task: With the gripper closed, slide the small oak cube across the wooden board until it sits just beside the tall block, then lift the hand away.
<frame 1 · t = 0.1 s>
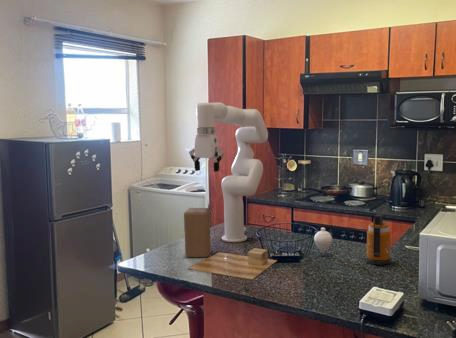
hand: (206, 170, 195), 37 cm above the counter, tool pointing down, fingers open, 9 cm apart
wooden board: (233, 264, 182), on the counter
block: (198, 254, 198), on the counter
oak cube: (258, 262, 184), resting on wooden board
amber tall bottle: (377, 263, 181), on the counter
spinning top: (323, 255, 193), on the counter
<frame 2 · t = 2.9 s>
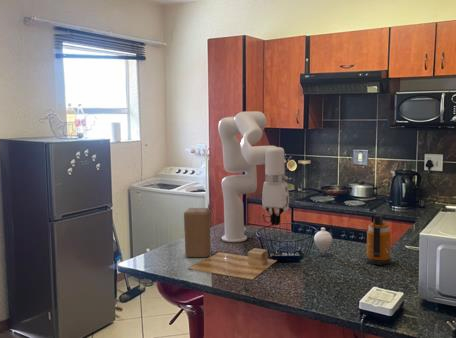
hand: (275, 224, 178), 17 cm above the counter, tool pointing down, fingers closed
nothing on the counter moved.
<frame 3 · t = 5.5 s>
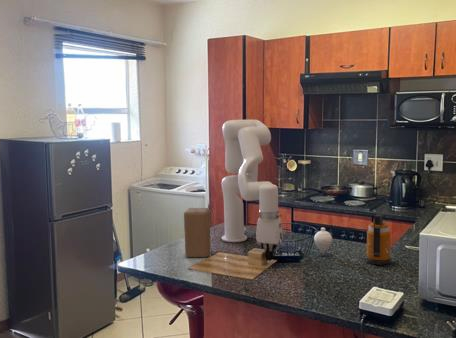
hand: (269, 259, 181), 2 cm above the counter, tool pointing down, fingers closed
oak cube: (257, 262, 184), resting on wooden board, touching gripper
everything else where it was.
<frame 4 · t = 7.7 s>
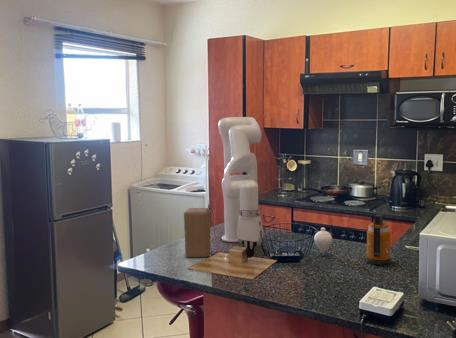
hand: (250, 256, 185), 2 cm above the counter, tool pointing down, fingers closed
oak cube: (238, 260, 187), resting on wooden board
everything else where it was.
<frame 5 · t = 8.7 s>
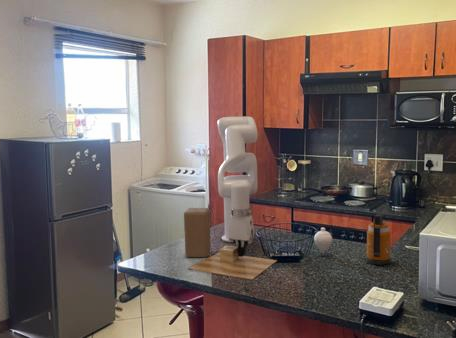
hand: (241, 255, 187), 2 cm above the counter, tool pointing down, fingers closed
oak cube: (229, 259, 189), resting on wooden board, touching gripper
everything else where it was.
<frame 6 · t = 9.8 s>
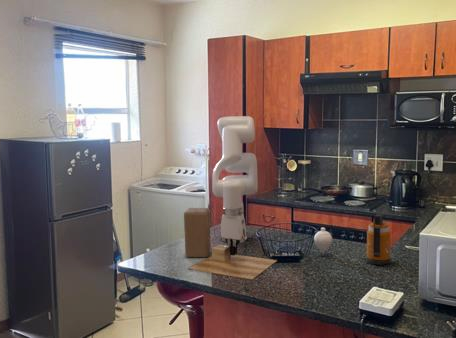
hand: (233, 254, 189), 2 cm above the counter, tool pointing down, fingers closed
oak cube: (221, 258, 190), resting on wooden board, touching gripper
everything else where it was.
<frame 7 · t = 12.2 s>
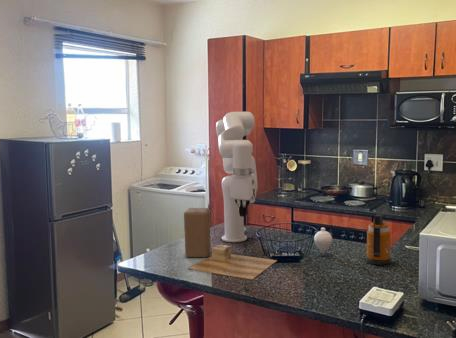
hand: (243, 215, 186), 19 cm above the counter, tool pointing down, fingers closed
oak cube: (221, 258, 190), resting on wooden board
everything else where it was.
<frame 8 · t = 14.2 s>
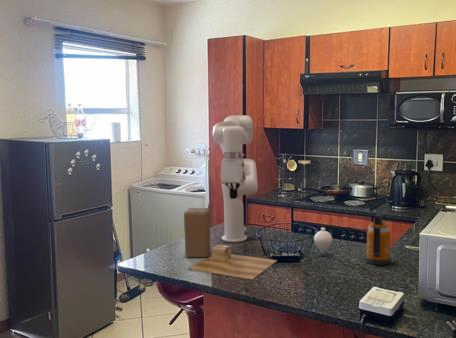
hand: (233, 198, 193), 25 cm above the counter, tool pointing down, fingers closed
nothing on the counter moved.
at the end: oak cube inside the target area on the counter beside the block (1.6 cm from its centre), resting on wooden board; oak cube tilted 0°; block moved 0.2 cm from its start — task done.
